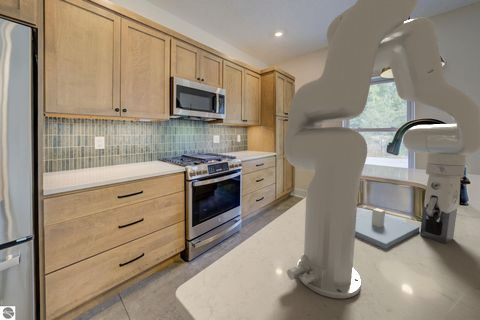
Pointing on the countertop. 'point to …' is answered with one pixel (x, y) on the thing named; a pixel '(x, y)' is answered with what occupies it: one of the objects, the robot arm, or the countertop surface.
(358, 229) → the post board
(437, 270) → the countertop surface
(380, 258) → the countertop surface
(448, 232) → the grey block
